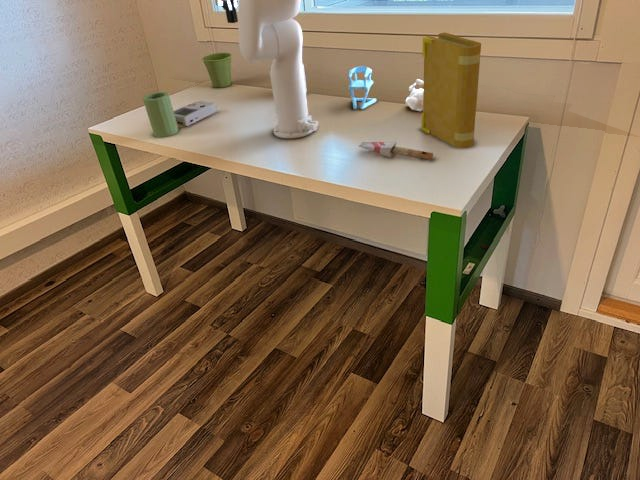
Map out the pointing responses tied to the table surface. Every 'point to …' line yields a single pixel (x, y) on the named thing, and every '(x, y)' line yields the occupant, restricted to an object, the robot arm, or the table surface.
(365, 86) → the chair
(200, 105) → the handheld gaming device
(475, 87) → the book
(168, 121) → the cylindrical cup
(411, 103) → the rabbit figurine
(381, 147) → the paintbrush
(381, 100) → the table surface
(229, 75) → the plant pot
